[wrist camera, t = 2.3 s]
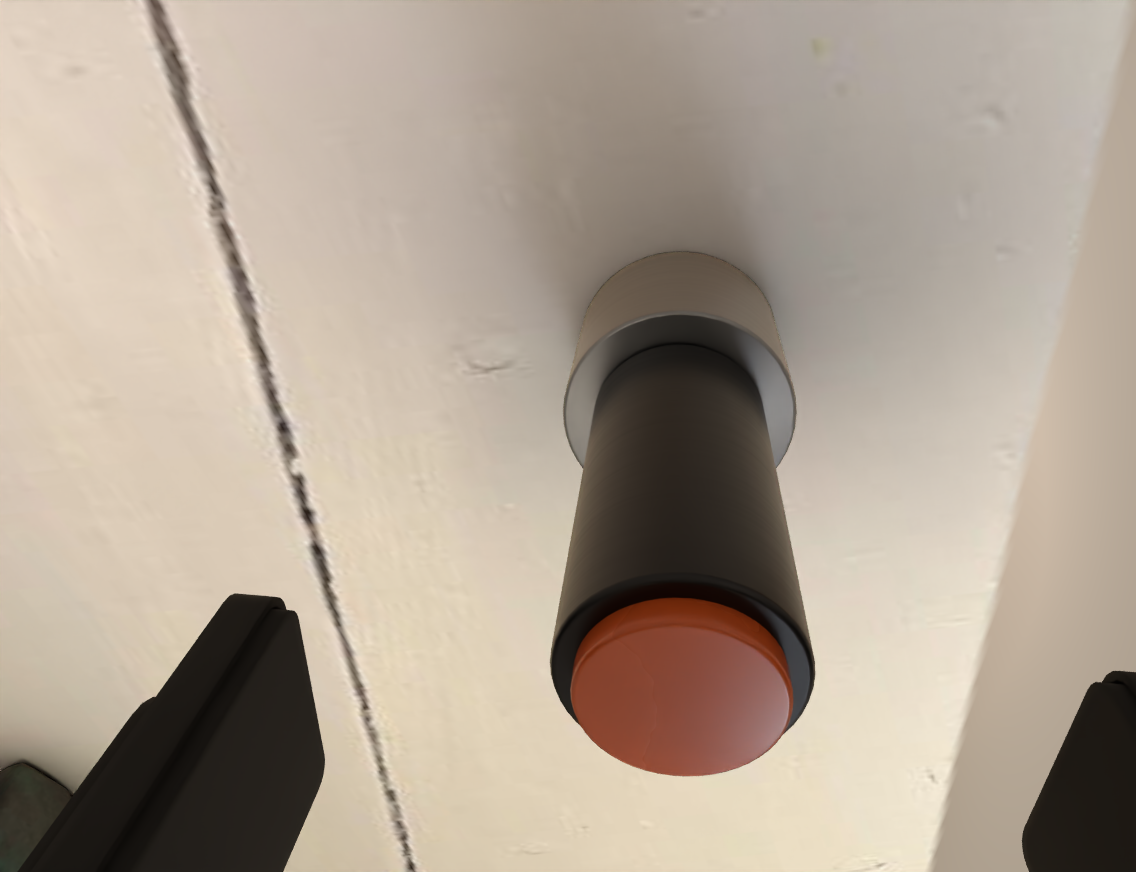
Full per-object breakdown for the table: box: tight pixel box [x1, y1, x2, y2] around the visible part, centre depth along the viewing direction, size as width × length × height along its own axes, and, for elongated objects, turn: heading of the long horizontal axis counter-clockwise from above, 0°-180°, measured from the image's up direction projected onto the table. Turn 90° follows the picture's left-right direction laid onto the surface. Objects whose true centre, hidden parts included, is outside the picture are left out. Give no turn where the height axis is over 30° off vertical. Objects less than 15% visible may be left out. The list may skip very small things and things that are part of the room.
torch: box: [550, 252, 815, 776], centre depth 14 cm, size 4×4×10 cm
